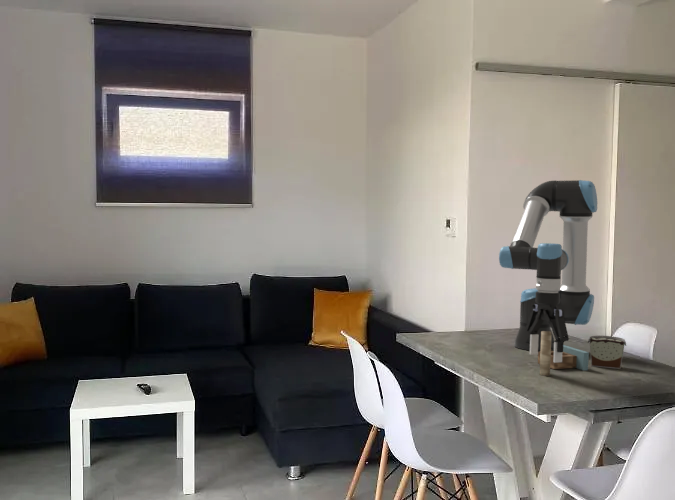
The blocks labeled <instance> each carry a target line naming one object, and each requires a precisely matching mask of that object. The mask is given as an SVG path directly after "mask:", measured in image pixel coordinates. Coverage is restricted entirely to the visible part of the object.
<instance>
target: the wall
mask: <svg viewBox="0 0 675 500" xmlns="http://www.w3.org/2000/svg"><path fill="white" fill-rule="evenodd" d="M563 352H566V353H569V354H572V355H575V356H577V361H576V368H575V369H578V370H580V371H582V372H583V371H589V355H590V353H589V352H590V351H585V350H582V349H579V348H575V347H572V346H568V345H565V344H563Z"/></svg>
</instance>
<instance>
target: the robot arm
mask: <svg viewBox="0 0 675 500" xmlns="http://www.w3.org/2000/svg"><path fill="white" fill-rule="evenodd" d="M597 196H598V194H597V188H596V186H595V184H594V183H593V181H590V180H581V179H579V180H577V179H576V180H574V179H573V180H548V181H547V180H546V181H545V182H542V183H541V184H539V185H538V186H535V187H534V188H533V189H532V190H531V191H530V192H529V193H528V194H527V196H526V197H525V199H524V201H523V206H522V207H523V212H522V215H521V216H520V219H519V222H518V224H517V227H516V229H515V232H514V235H513V237H512V240H511V243H510V245H507V246H502V247H501V248H500V249H499V253H498V255H499V256H498V261H499V265H500V267H501V268H503V269H511V270H530V271H531V270H532V271H533V270H534V271H536V277H535V278H536V280H535V281H536V282H535V283H536V284H535V286H536V287H533V288H527V289H524V290H522V292H521V293H520V301H519V302H520V309H519V314H520V315H519V328H518V331H517V333H516V337H515V339H514V347H515V348H516V349H517V348H518V349H520V350H526V351H529V355H538V352H540V351H541V331H550V332H552V336H551V351H554V358H553V362H554V363H557V362H562V352H563V345H565V344H564V343H565V342H568V341H569V339H570V337H569V333H568V329H567V325H566V324H570V325H575V326H577V325H582V326H585V325H587V324H588V323H589V322H590V321H591V318H592V315H593V312H594V311H593V310H594V304H595V295H594V294H592V293H591V290H590V288H589V287H588V286H587V260H588V259H587V256H588V255H587V254H588V253H587V252H588V227H589V226H588V225H589V221H590V220H591V219H592V218H593V214H594V213H596V212H597V210H598V197H597ZM550 212H557V213H558V212H559V218H560V219H561V221H563V231H562V233H563V234H562V236H563V237H562V245H561V244H560V243H551V242H549V243H547V242H546V243H545V242H544V243H543V242H542V243H539V244H538V245H537V247H534V245H535V242H536V239H537V237H538V234H539V232H540V228H541V225H542V223H543V221H544V217H546V216H547V215H548V214H549V213H550ZM554 338H555V339H554Z"/></svg>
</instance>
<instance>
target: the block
mask: <svg viewBox="0 0 675 500" xmlns="http://www.w3.org/2000/svg"><path fill="white" fill-rule="evenodd" d="M553 358H554V350H551V361H550V369H553V370H560V369H574V368H575V369H577V368H576V361H577V356H575V355H572V354H569V353H566V352H562V362H557V363H554V362H553ZM537 364H539V365H540V351H538V354H537Z"/></svg>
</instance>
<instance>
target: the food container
mask: <svg viewBox="0 0 675 500" xmlns="http://www.w3.org/2000/svg"><path fill="white" fill-rule="evenodd" d="M587 340H588V341H587V344H589V352H590V353H589V355H590V366H591V367H596V368H597V367H598V368H607V369H608V368H609V369H618V370H621V369H622V368H621V367H622V362H623V358H624V357H623V355H624V349H625V347H627V341H626V339H625V338H623V337H618V336H613V335H612V336H611V335H590V336H589V338H588V339H587Z"/></svg>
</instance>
